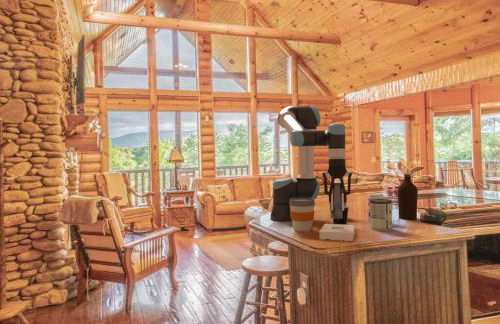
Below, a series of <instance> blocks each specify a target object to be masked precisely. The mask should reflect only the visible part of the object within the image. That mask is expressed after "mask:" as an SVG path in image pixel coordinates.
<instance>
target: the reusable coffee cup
mask: <svg viewBox="0 0 500 324" xmlns="http://www.w3.org/2000/svg"><path fill="white" fill-rule="evenodd" d="M289 205H290V209H291V210H290V215H291V222H292V223H291V224H292V229H293V231H295V232H303V231H304V232H311V231H312V229H313V227H312V226H313V221H314V218H315V206H316V203H315V199H311V198H293V199H290V203H289Z"/></svg>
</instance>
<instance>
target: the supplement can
mask: <svg viewBox="0 0 500 324" xmlns="http://www.w3.org/2000/svg"><path fill="white" fill-rule="evenodd" d="M372 199H385V196H384V194H383V193H369V195H368V200H367V201H368V202H367V203H368V205H367V206H368V207H367V208H368V211H367V214H368V221H369V223H371V221H370V200H372Z"/></svg>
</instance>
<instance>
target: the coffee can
mask: <svg viewBox="0 0 500 324" xmlns="http://www.w3.org/2000/svg"><path fill="white" fill-rule="evenodd" d="M370 221H371V222H370ZM370 221H369V222H370V229H371V230H374V231H379V232H380V231H383V232H386V231H387V232H388V231H392V230H393V200H392V199H389V198H388V199H387V198H384V199H372V200H370Z"/></svg>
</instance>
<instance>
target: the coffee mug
mask: <svg viewBox="0 0 500 324" xmlns="http://www.w3.org/2000/svg"><path fill="white" fill-rule="evenodd" d="M348 214H349V206H347V205H346V206H344V211H342V219H334V218H332V222H333V223H332V224H341V225H348V216H349V215H348ZM332 217H333V210H332Z"/></svg>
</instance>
